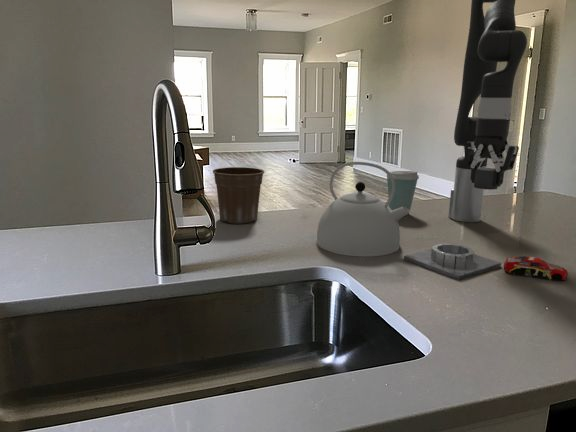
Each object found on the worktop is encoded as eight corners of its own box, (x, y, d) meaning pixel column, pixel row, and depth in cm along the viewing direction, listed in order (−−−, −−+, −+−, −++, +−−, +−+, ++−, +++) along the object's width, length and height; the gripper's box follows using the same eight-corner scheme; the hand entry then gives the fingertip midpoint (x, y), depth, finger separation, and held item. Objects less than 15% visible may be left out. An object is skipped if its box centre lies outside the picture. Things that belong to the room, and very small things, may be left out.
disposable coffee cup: (378, 213, 162) (380, 170, 159) (393, 208, 170) (396, 167, 167) (406, 219, 156) (410, 174, 152) (420, 213, 164) (424, 170, 160)
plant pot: (256, 212, 163) (255, 165, 159) (270, 223, 148) (271, 173, 144) (209, 215, 157) (208, 167, 153) (220, 228, 143) (218, 175, 139)
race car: (565, 276, 108) (568, 259, 107) (568, 284, 103) (571, 267, 102) (503, 267, 113) (505, 251, 112) (502, 274, 108) (505, 258, 107)
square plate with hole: (403, 259, 117) (404, 246, 116) (445, 248, 125) (446, 236, 125) (458, 280, 104) (460, 265, 103) (500, 266, 113) (502, 252, 112)
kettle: (415, 239, 134) (422, 160, 129) (397, 263, 114) (404, 171, 109) (333, 228, 145) (335, 154, 139) (303, 248, 125) (305, 164, 119)
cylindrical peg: (469, 186, 121) (471, 167, 120) (482, 184, 124) (484, 165, 123) (488, 190, 116) (491, 170, 115) (501, 188, 119) (504, 168, 118)
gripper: (459, 116, 120) (452, 181, 124) (512, 118, 108) (503, 190, 112) (476, 115, 124) (470, 179, 128) (530, 117, 112) (521, 187, 116)
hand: (485, 184), depth 120 cm, fingers closed on cylindrical peg, 5 cm apart
